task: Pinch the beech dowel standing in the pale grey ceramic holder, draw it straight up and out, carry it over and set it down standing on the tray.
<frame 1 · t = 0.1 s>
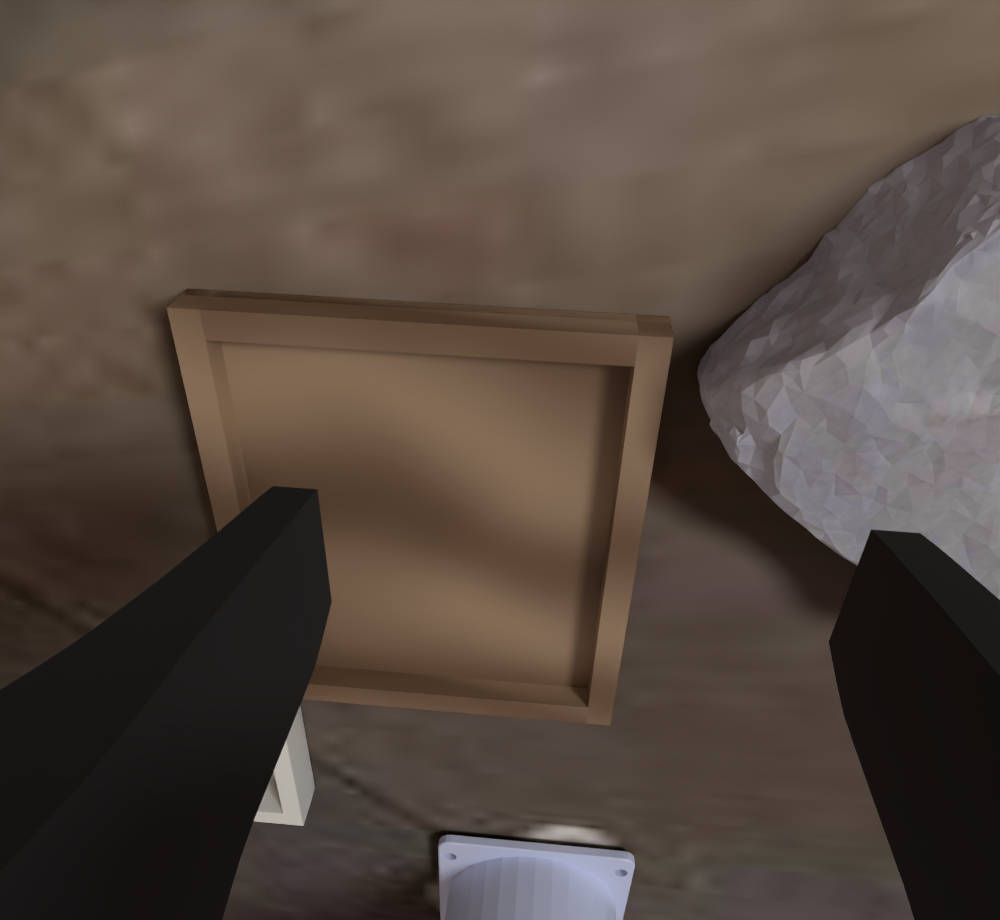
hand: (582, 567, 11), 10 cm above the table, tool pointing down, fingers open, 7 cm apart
stone block: (976, 368, 20), on the table
tray: (430, 523, 23), on the table
holder: (229, 734, 30), on the table
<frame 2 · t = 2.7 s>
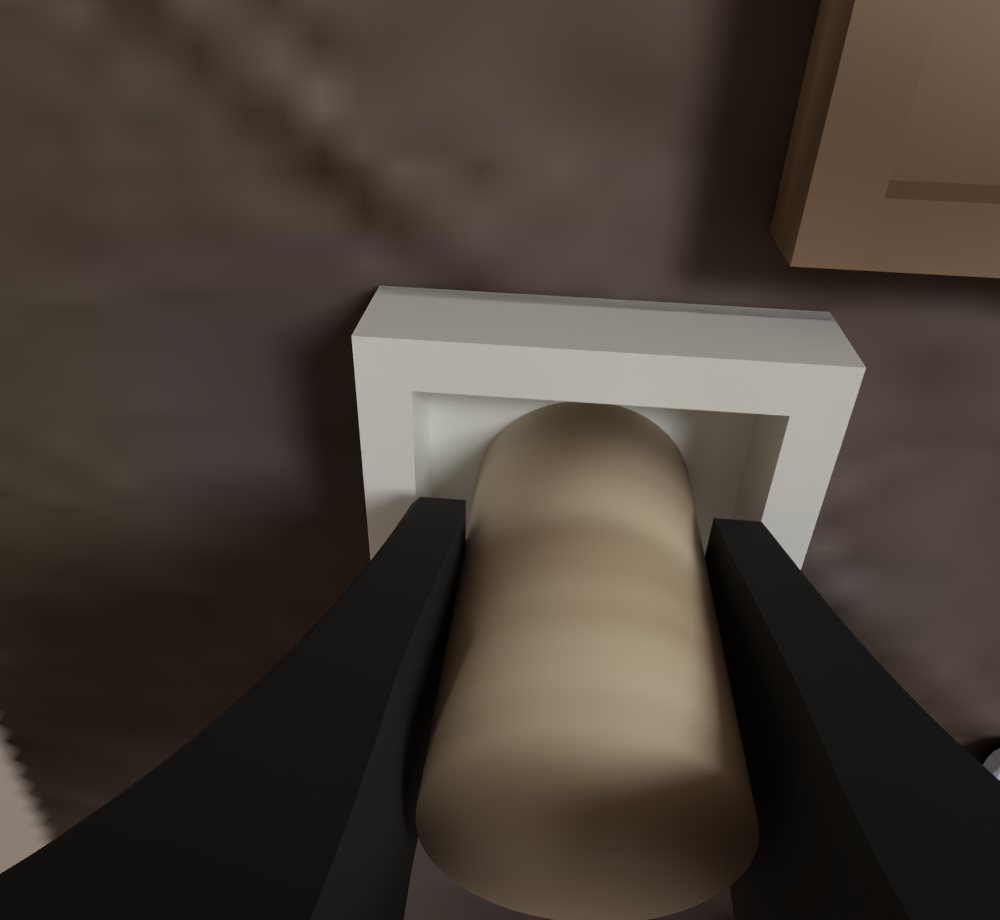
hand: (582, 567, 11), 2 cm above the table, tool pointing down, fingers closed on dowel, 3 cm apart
holder: (581, 480, 12), on the table
dowel: (581, 492, 12), resting on holder, touching gripper
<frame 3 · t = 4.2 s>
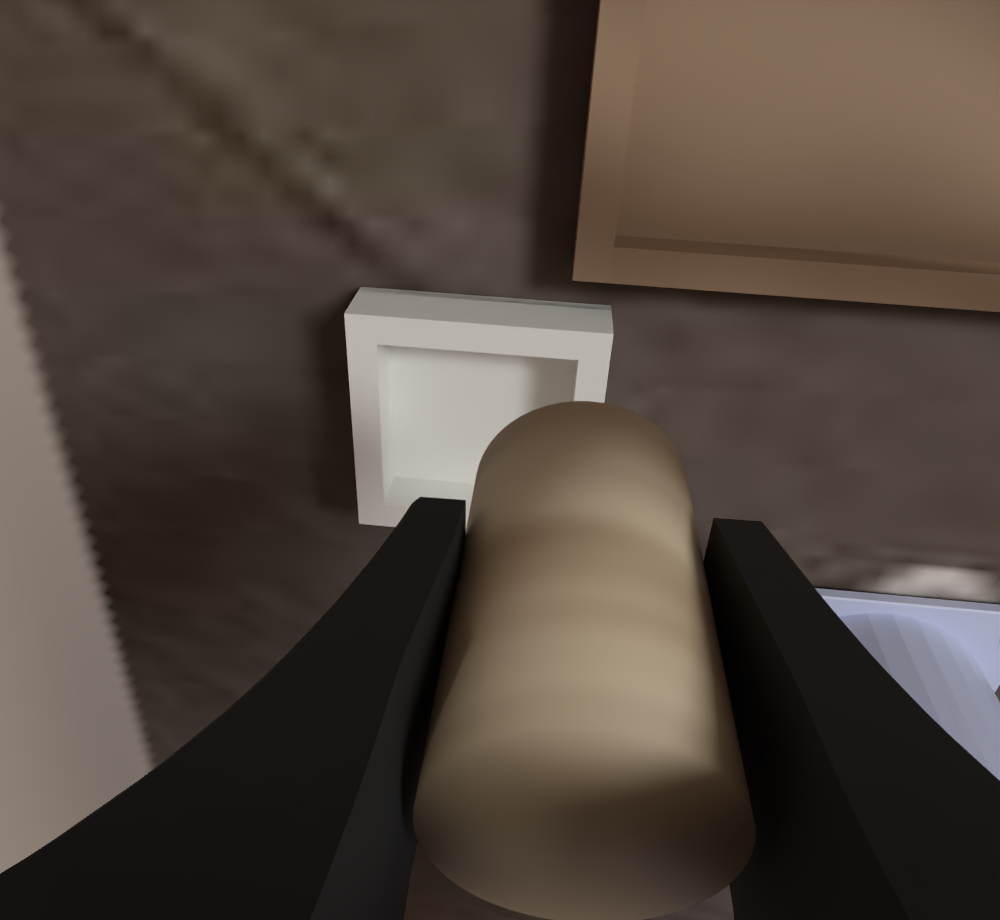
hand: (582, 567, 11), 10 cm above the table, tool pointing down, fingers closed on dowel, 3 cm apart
holder: (481, 405, 20), on the table
dowel: (580, 492, 12), point 8 cm above the table, touching gripper
when the fingers open (2 cm above the table, at t = 6.8 s): dowel stays where it is, resting on tray.
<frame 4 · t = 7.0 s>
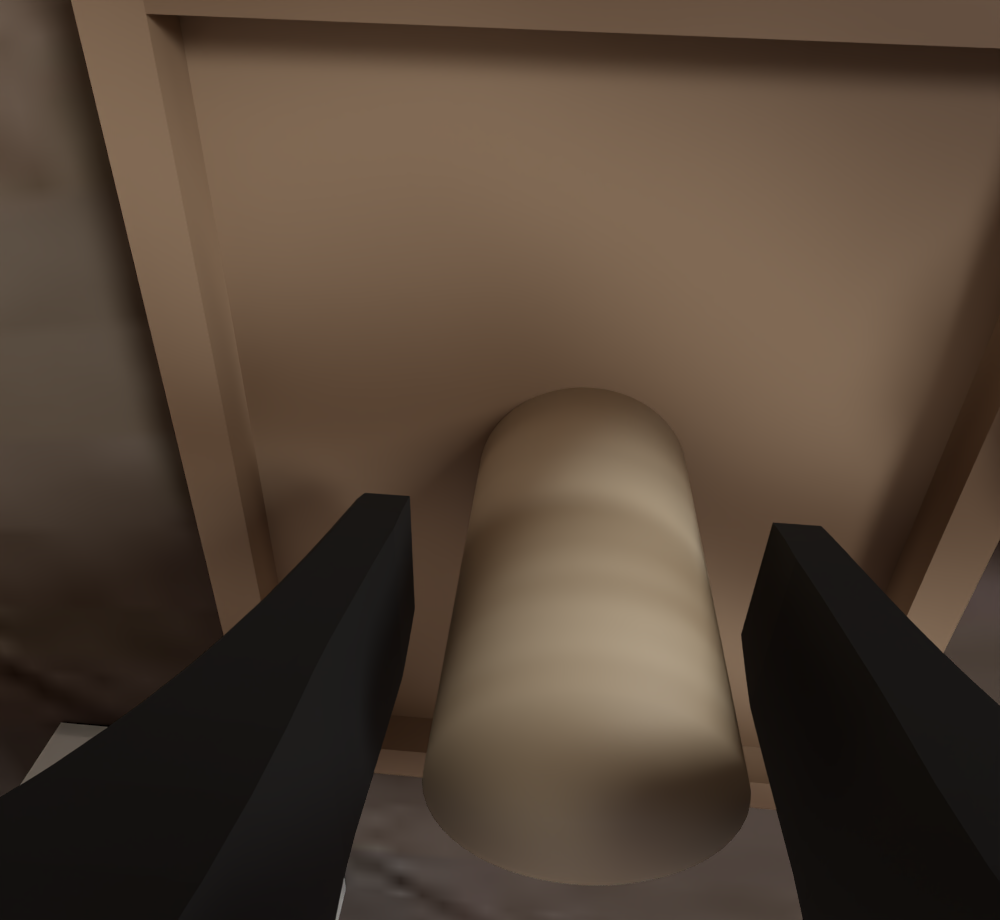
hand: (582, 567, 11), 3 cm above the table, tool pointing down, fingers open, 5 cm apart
tray: (581, 462, 13), on the table
holder: (214, 812, 19), on the table
dowel: (581, 477, 12), resting on tray
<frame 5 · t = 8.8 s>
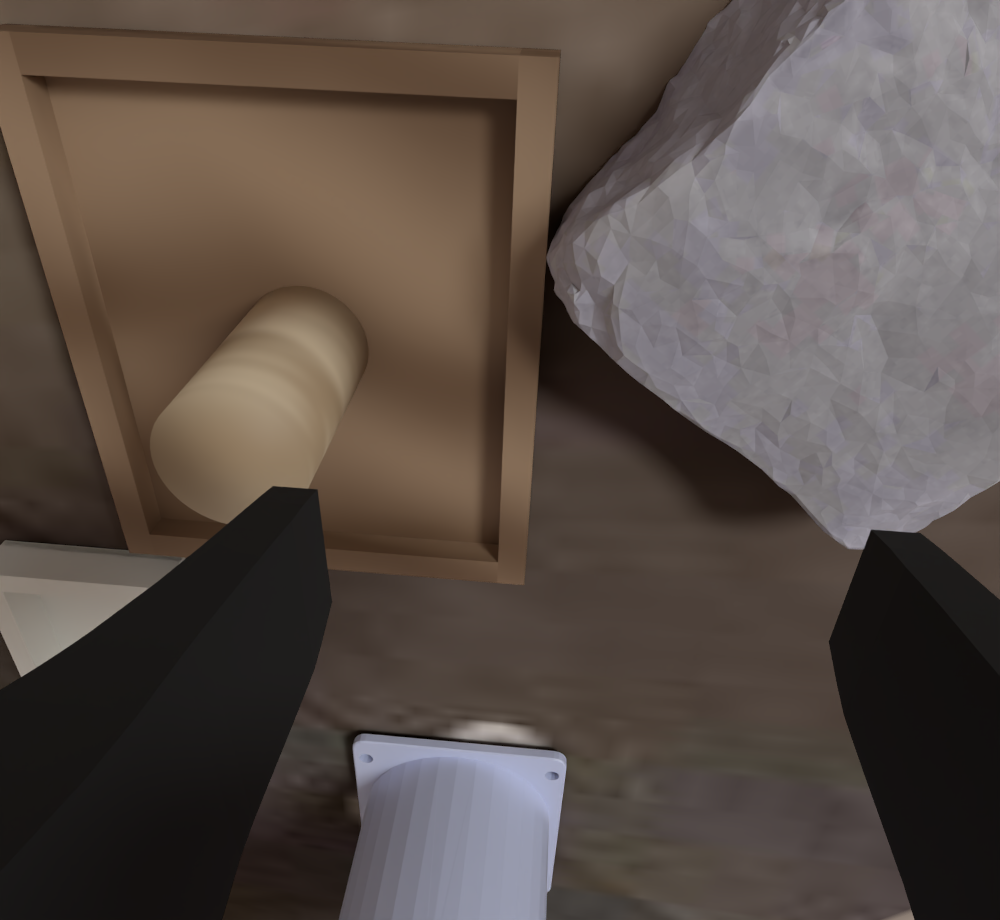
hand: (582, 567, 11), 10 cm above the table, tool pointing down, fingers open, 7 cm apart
stone block: (853, 233, 19), on the table
tray: (311, 337, 21), on the table
holder: (116, 613, 27), on the table
dowel: (307, 344, 20), resting on tray
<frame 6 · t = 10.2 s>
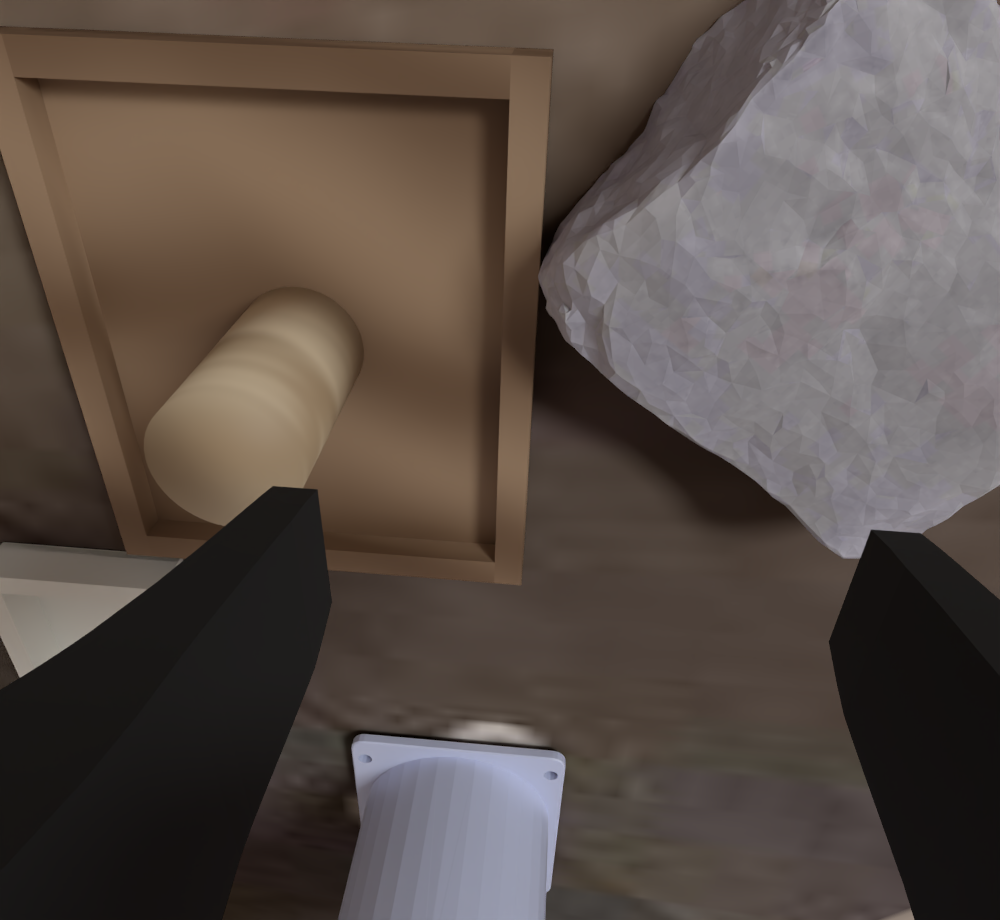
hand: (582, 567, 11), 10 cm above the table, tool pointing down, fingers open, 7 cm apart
stone block: (842, 246, 19), on the table
tray: (307, 338, 21), on the table
holder: (114, 615, 27), on the table
dowel: (302, 345, 20), resting on tray
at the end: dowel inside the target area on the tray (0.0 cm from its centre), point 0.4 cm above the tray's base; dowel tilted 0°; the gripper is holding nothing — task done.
